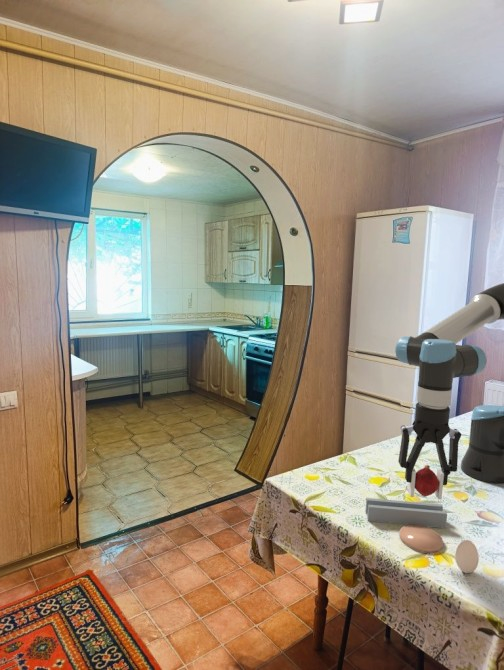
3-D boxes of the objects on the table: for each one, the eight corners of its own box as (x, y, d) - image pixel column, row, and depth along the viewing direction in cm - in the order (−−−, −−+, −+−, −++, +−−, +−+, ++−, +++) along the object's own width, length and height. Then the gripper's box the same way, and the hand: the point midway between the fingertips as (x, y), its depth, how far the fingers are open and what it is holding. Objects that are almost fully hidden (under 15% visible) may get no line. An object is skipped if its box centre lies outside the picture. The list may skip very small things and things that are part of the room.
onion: (439, 503, 103) (442, 472, 101) (413, 500, 104) (416, 469, 103) (434, 492, 108) (437, 461, 107) (410, 489, 109) (412, 459, 108)
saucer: (435, 530, 112) (435, 526, 112) (448, 554, 102) (448, 550, 102) (395, 526, 113) (396, 522, 113) (404, 550, 103) (404, 546, 103)
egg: (469, 564, 99) (473, 534, 98) (481, 578, 94) (484, 547, 93) (450, 564, 99) (453, 534, 98) (460, 578, 94) (463, 547, 93)
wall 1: (440, 517, 118) (441, 504, 117) (441, 520, 116) (442, 506, 116) (365, 511, 120) (366, 497, 119) (365, 513, 119) (366, 500, 118)
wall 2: (444, 525, 114) (445, 511, 114) (445, 527, 113) (447, 513, 112) (367, 518, 117) (368, 504, 116) (367, 520, 115) (368, 506, 115)
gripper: (468, 402, 105) (459, 491, 109) (389, 397, 107) (382, 484, 111) (480, 411, 98) (470, 506, 101) (395, 406, 100) (388, 499, 103)
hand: (424, 495), depth 106 cm, fingers closed on onion, 6 cm apart
